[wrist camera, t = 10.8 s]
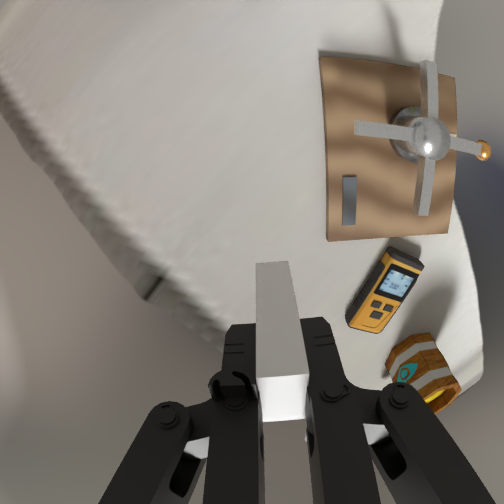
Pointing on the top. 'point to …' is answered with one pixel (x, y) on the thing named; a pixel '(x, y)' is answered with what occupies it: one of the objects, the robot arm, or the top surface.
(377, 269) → the electronic device
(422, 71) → the capstan
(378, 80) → the wooden board
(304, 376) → the robot arm
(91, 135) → the top surface
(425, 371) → the mug
